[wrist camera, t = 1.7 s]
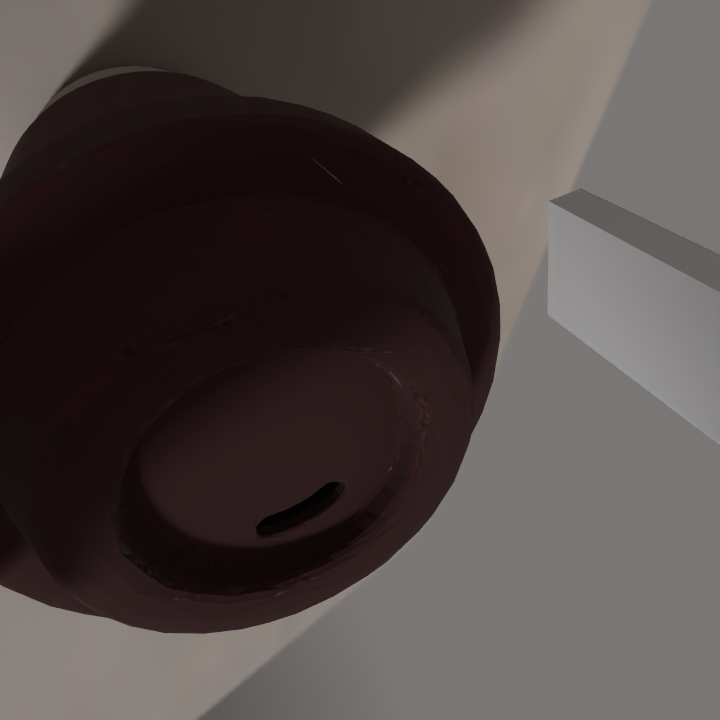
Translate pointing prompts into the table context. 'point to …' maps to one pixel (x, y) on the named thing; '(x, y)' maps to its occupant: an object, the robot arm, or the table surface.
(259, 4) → the table surface
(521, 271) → the table surface
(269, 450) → the coffee cup
